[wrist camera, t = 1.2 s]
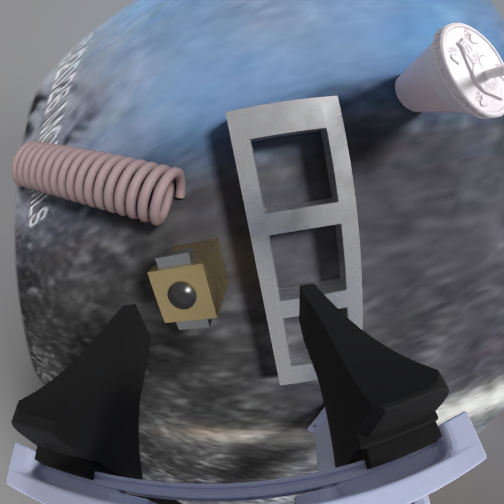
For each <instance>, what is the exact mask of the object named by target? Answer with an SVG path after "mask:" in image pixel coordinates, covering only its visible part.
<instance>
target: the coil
mask: <svg viewBox="0 0 504 504" xmlns="http://www.w3.org/2000/svg"><path fill="white" fill-rule="evenodd" d="M12 176H13V179H14V182H15V183H16V184H17V185H19V186H22V187H25V188H29V189H32V190H36V191H38V192H43V193H45V194H50V195H52V196H57V197H59V198H64V199H66V200H71V201H73V202H79V203H81V204H83V205H87V204H88V205H89V206H90V207H97V208H99V209H101V210H107V211H109V212H111V213H116V212H117V213H118V214H119V215H121V216H126V215H128V216H129V217H130V218H132V219H137V218H139V219H140V220H141V221H142V222H149V221H151V223H152V224H153V225H156V226H158V225H160V224H162V223H163V222H164V220H165V219H166V217H167V214H168V212H169V209H170V206H171V202H172V198H173V192H174V178H175V180H176V195H175V197H177V198H184V196H185V187H186V182H185V175H184V173H183V171H182V170H181V169H180V168H177V167H173V168H170V167H169V166H167V165H165V164H162V165H158V164H157V163H155V162H146V161H145V160H142V159H139V160H136V159H135V158H132V157H127V158H126V157H125V156H122V155H114V154H112V153H105V152H102V151H98V152H97V151H95V150H87V149H84V148H78V147H70V146H63V145H57V144H50V143H43V142H37V141H30V142H28V143H26V144H24V145H23V146H22V147H21V148H20V149H19V150H18V152H17V153H16V155H15V157H14V160H13V163H12ZM132 176H133V179H132ZM95 177H96V180H95ZM94 181H95V184H94ZM142 181H143V186H142V188H141V185H142ZM93 185H94V187H93ZM83 187H84V188H83ZM153 187H154V189H153ZM152 189H153V195H152V199H151V202H150V205H149V207H148V202H149V199H150V195H151V192H152ZM137 201H138V205H137V206H136V203H137ZM125 203H126V205H125Z"/></svg>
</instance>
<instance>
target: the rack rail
mask: <svg viewBox="0 0 504 504" xmlns="http://www.w3.org/2000/svg"><path fill="white" fill-rule="evenodd" d="M226 117H227V122H228V127H229V132H230V137H231V142H232V147H233V152H234V157H235V162H236V167H237V172H238V177H239V182H240V187H241V192H242V197H243V202H244V207H245V212H246V217H247V222H248V227H249V232H250V237H251V242H252V247H253V252H254V257H255V262H256V267H257V272H258V277H259V282H260V287H261V292H262V297H263V302H264V307H265V312H266V317H267V322H268V327H269V332H270V337H271V342H272V347H273V352H274V357H275V362H276V367H277V372H278V377H279V383H280V385H286V384H293V383H300V382H307V381H313V380H318V378H317V375H316V373H315V370H314V367H313V364H312V361H311V359H310V356H309V353H308V350H307V348H302V349H295V350H289V344H288V338H287V332H286V326H285V320H284V318H288V317H295V316H299V297H300V285H305V284H300V285H294V286H287V287H281V288H279V284H278V278H277V272H276V266H275V261H274V255H273V249H272V244H271V238H270V235H275V234H281V233H287V232H293V231H299V230H305V229H311V228H318V227H324V226H330V225H335V231H336V240H337V250H338V261H339V272H340V278H334V279H329V280H323V281H317V282H312V283H314V284H315V285H316V286H317V287H318V288H319V289H320V290H321V291H322V292H323V294H324V295H325V296H326V297H327V298H328V299H329V300H330V301H331V302H332V303H333V304H334V305H335V306H336V307H337V308H338V309H341V308H342V313H343V314H344V315H345V316H346V317H348V318H349V319H350V320H351V321H352V322H353V323H354V324H356V325H357V326H358V327H359V328H360V329H362V330H363V306H362V272H361V254H360V240H359V228H358V217H357V208H356V199H355V191H354V183H353V176H352V169H351V163H350V156H349V150H348V145H347V139H346V134H345V128H344V123H343V118H342V114H341V109H340V104H339V100H338V96H327V97H317V98H307V99H299V100H291V101H284V102H277V103H271V104H265V105H259V106H254V107H248V108H243V109H238V110H234V111H229V112H226ZM318 131H320V133H321V138H322V143H323V149H324V154H325V160H326V166H327V172H328V178H329V185H330V192H331V198H326V199H319V200H313V201H306V202H300V203H294V204H288V205H282V206H276V207H270V208H265V205H264V200H263V195H262V190H261V184H260V179H259V174H258V169H257V164H256V159H255V153H254V148H253V143H252V142H253V141H259V140H264V139H270V138H276V137H282V136H289V135H296V134H303V133H310V132H318ZM312 283H306V284H312Z"/></svg>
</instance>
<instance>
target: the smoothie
mask: <svg viewBox="0 0 504 504" xmlns="http://www.w3.org/2000/svg"><path fill="white" fill-rule="evenodd" d="M395 92H396V95H397V97H398V99H399V101H400V102H401V103H402V105H403V106H404V107H406V108H407V109H409V110H411V111H413V112H454V113H470V114H472V115H474V116H476V117H478V118H483V119H489V118H493V117H499V116H501V115H503V114H504V63H503V61H502V59H501V57H500V56H499V54H498V53H497V51H496V50H495V48H494V47H493V46H492V44H491V43H490V42H489V41H488V40H487V39H486V38H485V37H484V36H483V35H482V34H481V33H479V32H478V31H477V30H475V29H474V28H472V27H470V26H468V25H466V24H462V23H451V24H449V25H447V26H444V27H442V28H440V29H438V31H437V32H436V34H435V35H434V39H433V43H432V44H431V45H430V46H429V47H428V48H427V49H426V50H425V51H424V52H423V53H422V54H421V55H420V56H419V57H418V58H417V59H416V60H415V61H414V62H413V63H412V64H411V65H410V66H409V67H408V68H407V69H406V70H405V71H404V72H403V73H402V74H401V75H400V76H399V77H398V78H397V79H396V82H395Z"/></svg>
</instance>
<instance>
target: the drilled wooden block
mask: <svg viewBox="0 0 504 504" xmlns="http://www.w3.org/2000/svg"><path fill="white" fill-rule="evenodd" d="M155 259H156V262H157V263H156V264H155V265H154V266H153V267H152V268H151V269H150V270H149V271H148V272H147V273H148V276H149V279H150V282H151V285H152V288H153V291H154V294H155V297H156V300H157V303H158V305H159V308H160V311H161V314H162V316H163V319H164V322H165V323H171V322H176V323H177V326H178V329H179V330H183V329H194V328H205V327H210V325H211V322H212V318H217V317H218V314H219V311H220V308H221V305H222V301H223V298H224V295H225V292H226V289H227V286H228V283H229V281H228V277H227V273H226V269H225V265H224V260H223V256H222V252H221V248H220V243H219V239H218V238H217V239H212V240H206V241H200V242H195V243H190V244H184V245H179V246H174V247H173V248H172V249H171V250H170V251H169V252H167V253H162V254H160V255H159V256H158V257H156V258H155Z"/></svg>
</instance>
